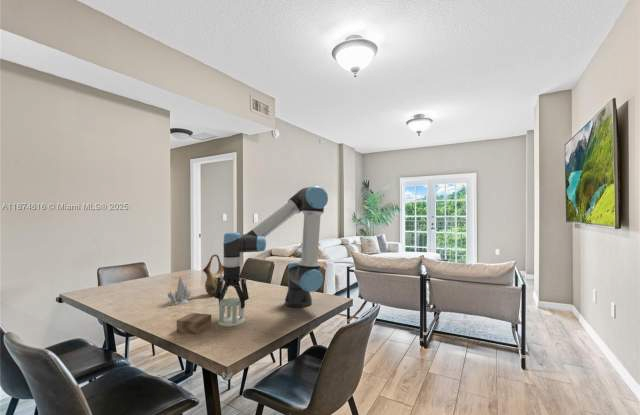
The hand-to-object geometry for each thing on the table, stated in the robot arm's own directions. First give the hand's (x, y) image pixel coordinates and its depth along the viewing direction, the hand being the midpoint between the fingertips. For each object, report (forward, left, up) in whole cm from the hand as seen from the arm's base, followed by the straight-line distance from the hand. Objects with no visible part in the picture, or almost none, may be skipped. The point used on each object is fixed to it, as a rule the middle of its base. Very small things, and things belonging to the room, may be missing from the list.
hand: (231, 314), depth 143 cm
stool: (0, 0, -3) cm, 3 cm away
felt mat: (0, 0, -3) cm, 3 cm away
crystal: (+45, -19, -4) cm, 49 cm away
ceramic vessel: (+35, -39, -4) cm, 53 cm away
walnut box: (+11, +12, -3) cm, 17 cm away
